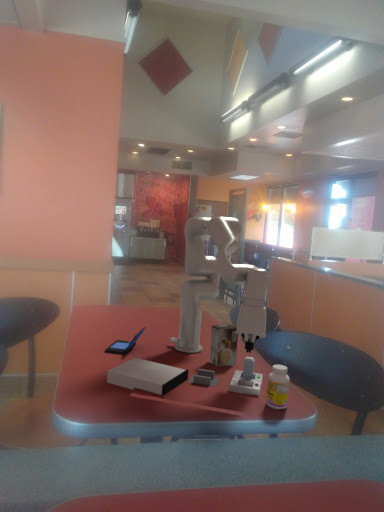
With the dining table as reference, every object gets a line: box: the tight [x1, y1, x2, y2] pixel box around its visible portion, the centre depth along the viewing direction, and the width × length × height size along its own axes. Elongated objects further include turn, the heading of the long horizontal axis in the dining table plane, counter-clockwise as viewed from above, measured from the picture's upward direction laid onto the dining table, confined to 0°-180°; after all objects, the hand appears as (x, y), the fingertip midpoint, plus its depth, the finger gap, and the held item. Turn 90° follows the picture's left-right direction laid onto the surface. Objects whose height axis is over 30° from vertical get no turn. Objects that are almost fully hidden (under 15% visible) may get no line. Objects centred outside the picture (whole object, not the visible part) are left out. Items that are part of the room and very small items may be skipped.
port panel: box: [228, 369, 264, 400], centre depth 148 cm, size 10×16×3 cm, turn 166°
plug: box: [242, 356, 256, 379], centre depth 151 cm, size 4×4×10 cm
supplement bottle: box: [265, 364, 291, 410], centre depth 134 cm, size 7×7×13 cm
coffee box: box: [208, 324, 239, 367], centre depth 169 cm, size 9×6×16 cm
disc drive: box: [106, 357, 189, 400], centre depth 146 cm, size 18×22×5 cm
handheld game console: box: [105, 326, 146, 356], centre depth 182 cm, size 16×13×9 cm
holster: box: [187, 368, 220, 387], centre depth 149 cm, size 10×8×4 cm
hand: (248, 351), depth 151 cm, fingers closed
